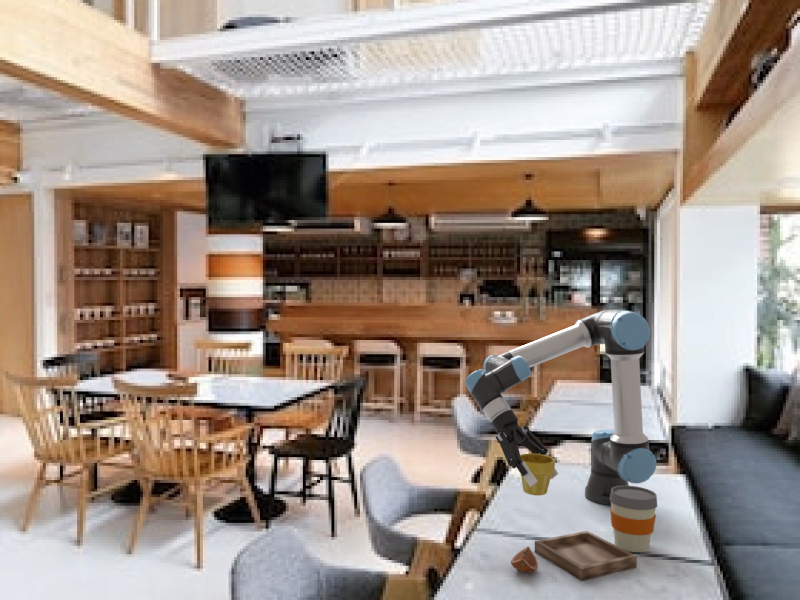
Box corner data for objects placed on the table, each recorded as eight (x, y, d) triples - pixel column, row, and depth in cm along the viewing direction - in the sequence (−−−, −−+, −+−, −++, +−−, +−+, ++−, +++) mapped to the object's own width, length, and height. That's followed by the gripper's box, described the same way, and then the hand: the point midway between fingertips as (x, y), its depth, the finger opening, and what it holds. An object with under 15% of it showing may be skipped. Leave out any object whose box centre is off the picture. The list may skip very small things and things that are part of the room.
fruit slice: (533, 580, 161) (534, 560, 161) (506, 575, 163) (507, 555, 163) (540, 567, 169) (540, 548, 168) (514, 562, 171) (514, 543, 171)
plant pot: (554, 499, 182) (555, 464, 182) (516, 496, 184) (517, 461, 184) (553, 487, 192) (554, 454, 192) (517, 484, 195) (518, 451, 194)
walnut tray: (586, 541, 186) (587, 530, 186) (636, 567, 169) (637, 556, 169) (534, 552, 178) (534, 541, 178) (581, 580, 161) (581, 568, 161)
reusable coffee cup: (632, 558, 175) (634, 502, 175) (598, 540, 186) (600, 488, 186) (665, 550, 181) (667, 496, 181) (630, 533, 192) (632, 483, 192)
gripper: (515, 418, 207) (557, 478, 196) (470, 429, 190) (513, 496, 180) (530, 403, 203) (573, 465, 192) (485, 414, 186) (530, 481, 176)
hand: (544, 480), depth 186 cm, fingers closed on plant pot, 10 cm apart
